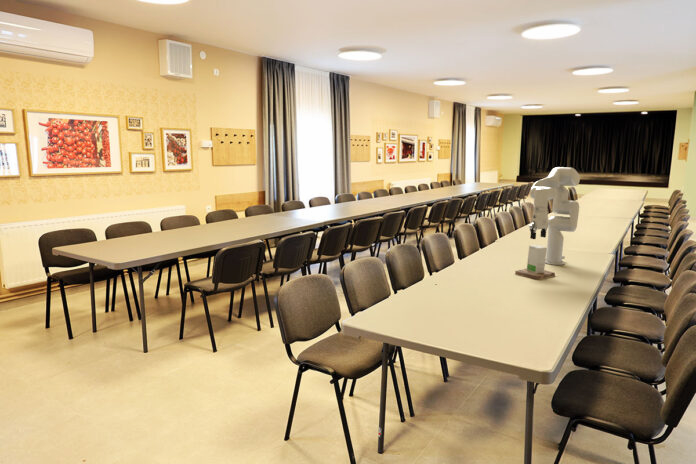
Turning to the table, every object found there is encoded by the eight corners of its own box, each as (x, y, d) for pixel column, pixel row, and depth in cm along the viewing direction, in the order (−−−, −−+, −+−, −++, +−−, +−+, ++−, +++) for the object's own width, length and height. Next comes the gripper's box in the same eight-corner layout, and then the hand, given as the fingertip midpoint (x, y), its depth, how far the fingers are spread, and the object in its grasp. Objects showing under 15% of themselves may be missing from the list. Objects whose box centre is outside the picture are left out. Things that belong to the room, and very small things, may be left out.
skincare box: (526, 270, 277) (528, 245, 274) (534, 269, 279) (536, 244, 276) (536, 273, 269) (538, 247, 266) (545, 272, 271) (547, 247, 269)
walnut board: (532, 270, 285) (532, 267, 284) (554, 275, 272) (555, 272, 272) (515, 274, 275) (515, 270, 275) (537, 279, 263) (537, 276, 263)
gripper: (536, 211, 259) (534, 240, 263) (554, 209, 269) (552, 237, 272) (525, 209, 266) (523, 238, 269) (543, 207, 275) (541, 235, 278)
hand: (538, 238), depth 270 cm, fingers open, 9 cm apart
